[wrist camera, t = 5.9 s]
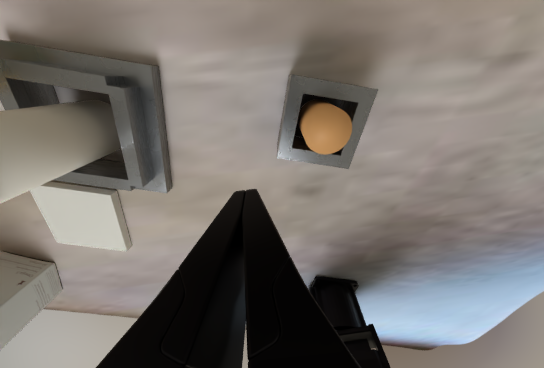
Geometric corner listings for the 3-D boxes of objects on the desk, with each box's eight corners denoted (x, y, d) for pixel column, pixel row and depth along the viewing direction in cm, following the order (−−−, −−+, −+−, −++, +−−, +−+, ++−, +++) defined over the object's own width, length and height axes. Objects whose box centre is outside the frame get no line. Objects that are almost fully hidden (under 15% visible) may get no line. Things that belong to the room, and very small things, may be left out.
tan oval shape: (338, 102, 17) (359, 111, 13) (327, 138, 18) (343, 157, 14) (302, 96, 17) (310, 103, 12) (294, 133, 18) (299, 150, 14)
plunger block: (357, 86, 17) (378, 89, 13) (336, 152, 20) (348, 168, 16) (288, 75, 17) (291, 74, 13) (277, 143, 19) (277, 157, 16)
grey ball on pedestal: (126, 102, 18) (-89, 138, 7) (136, 155, 20) (-14, 237, 10) (67, 93, 18) (-241, 116, 7) (85, 147, 20) (-124, 224, 10)
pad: (116, 190, 23) (110, 195, 22) (132, 245, 27) (127, 251, 26) (36, 179, 22) (26, 183, 21) (64, 237, 27) (57, 242, 26)
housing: (158, 66, 16) (133, 64, 14) (172, 187, 22) (156, 203, 19) (9, 41, 16) (-49, 33, 13) (62, 172, 22) (31, 186, 19)
